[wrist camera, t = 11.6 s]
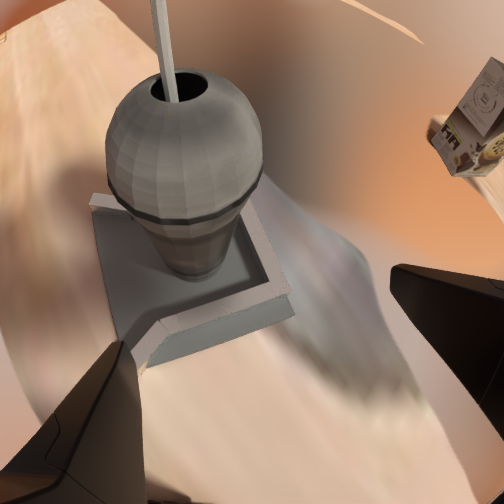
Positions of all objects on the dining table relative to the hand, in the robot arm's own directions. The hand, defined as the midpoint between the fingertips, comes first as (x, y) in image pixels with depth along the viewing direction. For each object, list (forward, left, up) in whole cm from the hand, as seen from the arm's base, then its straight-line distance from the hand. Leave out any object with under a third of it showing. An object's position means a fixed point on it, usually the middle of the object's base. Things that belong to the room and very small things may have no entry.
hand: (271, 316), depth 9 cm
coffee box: (+24, -29, -14) cm, 41 cm away
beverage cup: (+7, +4, -13) cm, 16 cm away
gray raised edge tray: (+7, +5, -13) cm, 16 cm away
